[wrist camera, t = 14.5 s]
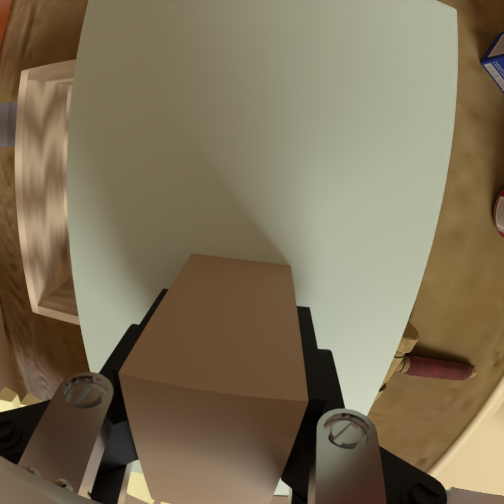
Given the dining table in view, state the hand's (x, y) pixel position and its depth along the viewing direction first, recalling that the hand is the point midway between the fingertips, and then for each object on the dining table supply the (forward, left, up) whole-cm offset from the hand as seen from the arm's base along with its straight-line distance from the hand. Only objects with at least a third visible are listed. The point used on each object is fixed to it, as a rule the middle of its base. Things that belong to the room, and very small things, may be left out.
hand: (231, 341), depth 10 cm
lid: (0, 0, -2) cm, 2 cm away
